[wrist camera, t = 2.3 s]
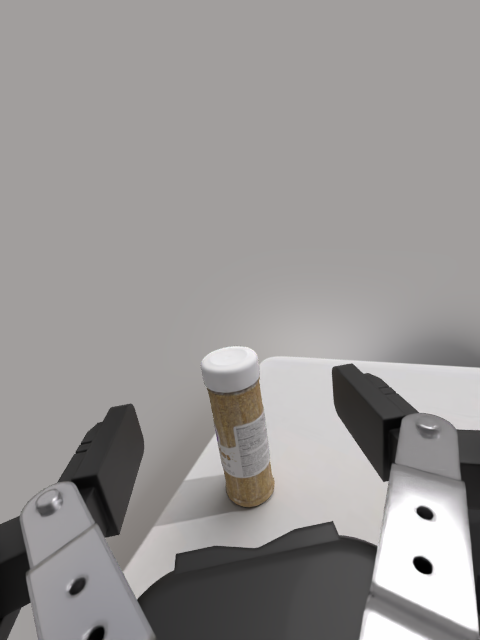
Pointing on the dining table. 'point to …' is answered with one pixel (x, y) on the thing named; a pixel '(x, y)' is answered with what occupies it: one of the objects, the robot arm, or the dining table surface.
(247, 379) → the sprinkles bottle
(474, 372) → the dining table surface
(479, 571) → the base pad
